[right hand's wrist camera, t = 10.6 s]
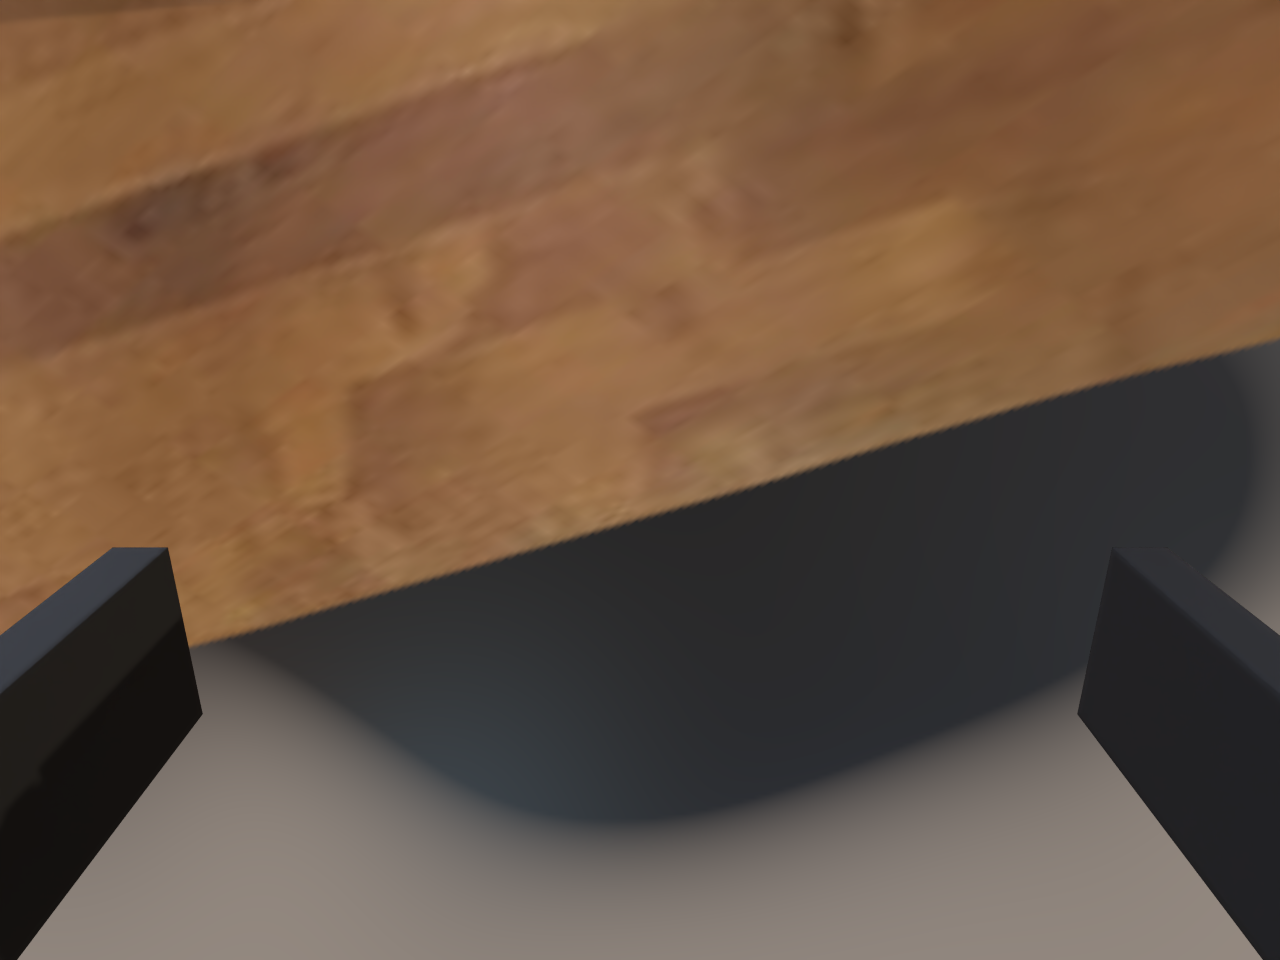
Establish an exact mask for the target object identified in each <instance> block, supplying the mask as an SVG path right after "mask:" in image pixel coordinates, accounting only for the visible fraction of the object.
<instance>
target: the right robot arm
mask: <svg viewBox="0 0 1280 960" xmlns="http://www.w3.org/2000/svg"><path fill="white" fill-rule="evenodd" d="M202 714H203V713H202V709H201V704H200V699H199V695H198V690H197V685H196V680H195V675H194V670H193V666H192V661H191V656H190V651H189V647H188V642H187V637H186V632H185V627H184V623H183V618H182V613H181V608H180V604H179V599H178V594H177V589H176V584H175V580H174V575H173V570H172V565H171V560H170V556H169V551H168V548H112V549H110V550H109V551H108V552H106V553H105V554H104V555H103V556H101V557H100V558H99V559H97V560H96V561H95V562H94V563H92V564H91V565H90V566H88V567H87V568H86V569H85V570H83V571H82V572H81V573H80V574H78V575H77V576H76V577H74V578H73V579H72V580H71V581H69V582H68V583H67V584H65V585H64V586H63V587H62V588H60V589H59V590H58V591H57V592H55V593H54V594H53V595H51V596H50V597H49V598H48V599H46V600H45V601H44V602H42V603H41V604H40V605H39V606H37V607H36V608H35V609H34V610H32V611H31V612H30V613H28V614H27V615H26V616H25V617H23V618H22V619H21V620H19V621H18V622H17V623H16V624H14V625H13V626H12V627H11V628H9V629H8V630H7V631H5V632H4V633H3V634H2V635H0V960H17V959H18V958H19V956H20V955H21V954H22V953H23V951H24V950H25V949H26V947H27V946H28V945H29V943H30V942H31V941H32V939H33V938H34V937H35V935H36V934H37V933H38V931H39V930H40V929H41V927H42V926H43V925H44V923H45V922H46V921H47V919H48V918H49V917H50V915H51V914H52V913H53V911H54V910H55V909H56V907H57V906H58V905H59V904H60V902H61V901H62V900H63V898H64V897H65V896H66V894H67V893H68V892H69V890H70V889H71V888H72V886H73V885H74V884H75V882H76V881H77V880H78V878H79V877H80V876H81V874H82V873H83V872H84V870H85V869H86V868H87V866H88V865H89V864H90V862H91V861H92V860H93V859H94V857H95V856H96V855H97V853H98V852H99V851H100V849H101V848H102V847H103V845H104V844H105V843H106V841H107V840H108V839H109V837H110V836H111V835H112V833H113V832H114V831H115V829H116V828H117V827H118V825H119V824H120V823H121V821H122V820H123V819H124V817H125V816H126V815H127V814H128V812H129V811H130V810H131V808H132V807H133V805H134V804H135V803H136V802H137V800H138V799H139V798H140V796H141V795H142V794H143V792H144V791H145V790H146V788H147V787H148V786H149V784H150V783H151V782H152V780H153V779H154V778H155V776H156V775H157V774H158V772H159V771H160V770H161V768H162V767H163V766H164V765H165V763H166V762H167V761H168V759H169V758H170V756H171V755H172V754H173V753H174V751H175V750H176V749H177V747H178V746H179V745H180V743H181V742H182V741H183V739H184V738H185V737H186V735H187V734H188V733H189V731H190V730H191V729H192V727H193V726H194V725H195V723H196V722H197V721H198V719H199V718H200V717H201V716H202ZM1078 716H1079V717H1080V718H1081V719H1082V721H1083V722H1084V723H1085V725H1086V726H1087V727H1088V729H1089V730H1090V731H1091V733H1092V734H1093V735H1094V737H1095V738H1096V739H1097V741H1098V742H1099V743H1100V745H1101V746H1102V747H1103V749H1104V750H1105V751H1106V753H1107V754H1108V755H1109V757H1110V758H1111V759H1112V761H1113V762H1114V763H1115V765H1116V766H1117V767H1118V768H1119V770H1120V771H1121V772H1122V774H1123V775H1124V776H1125V778H1126V779H1127V780H1128V782H1129V783H1130V784H1131V786H1132V787H1133V788H1134V790H1135V791H1136V792H1137V794H1138V795H1139V796H1140V798H1141V799H1142V800H1143V802H1144V803H1145V804H1146V806H1147V807H1148V808H1149V809H1150V811H1151V812H1152V813H1153V815H1154V816H1155V817H1156V819H1157V820H1158V821H1159V823H1160V824H1161V825H1162V827H1163V828H1164V829H1165V831H1166V832H1167V833H1168V835H1169V836H1170V837H1171V839H1172V840H1173V841H1174V843H1175V844H1176V845H1177V847H1178V848H1179V849H1180V851H1181V852H1182V853H1183V855H1184V856H1185V857H1186V859H1187V860H1188V861H1189V862H1190V864H1191V865H1192V866H1193V868H1194V869H1195V870H1196V872H1197V873H1198V874H1199V876H1200V877H1201V878H1202V880H1203V881H1204V882H1205V884H1206V885H1207V886H1208V888H1209V889H1210V890H1211V892H1212V893H1213V894H1214V896H1215V897H1216V898H1217V900H1218V901H1219V902H1220V904H1221V905H1222V906H1223V907H1224V909H1225V910H1226V911H1227V913H1228V914H1229V915H1230V917H1231V918H1232V919H1233V921H1234V922H1235V923H1236V925H1237V926H1238V927H1239V929H1240V930H1241V931H1242V933H1243V934H1244V935H1245V937H1246V938H1247V939H1248V941H1249V942H1250V943H1251V945H1252V946H1253V947H1254V949H1255V950H1256V951H1257V953H1258V954H1259V955H1260V956H1261V958H1262V959H1263V960H1280V635H1278V634H1277V633H1276V632H1275V631H1273V630H1272V629H1271V628H1269V627H1268V626H1267V625H1266V624H1264V623H1263V622H1262V621H1261V620H1259V619H1258V618H1257V617H1255V616H1254V615H1253V614H1252V613H1250V612H1249V611H1248V610H1246V609H1245V608H1244V607H1243V606H1241V605H1240V604H1239V603H1237V602H1236V601H1235V600H1234V599H1232V598H1231V597H1230V596H1229V595H1227V594H1226V593H1225V592H1223V591H1222V590H1221V589H1220V588H1218V587H1217V586H1216V585H1215V584H1213V583H1212V582H1211V581H1209V580H1208V579H1207V578H1206V577H1204V576H1203V575H1202V574H1200V573H1199V572H1198V571H1197V570H1195V569H1194V568H1193V567H1191V566H1190V565H1189V564H1188V563H1186V562H1185V561H1184V560H1183V559H1181V558H1180V557H1179V556H1177V555H1176V554H1175V553H1174V552H1172V551H1171V550H1170V549H1168V548H1112V551H1111V556H1110V560H1109V565H1108V570H1107V575H1106V580H1105V585H1104V589H1103V594H1102V599H1101V604H1100V608H1099V613H1098V618H1097V623H1096V628H1095V632H1094V637H1093V642H1092V647H1091V651H1090V656H1089V661H1088V666H1087V670H1086V675H1085V680H1084V685H1083V690H1082V695H1081V699H1080V704H1079V709H1078Z"/></svg>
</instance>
